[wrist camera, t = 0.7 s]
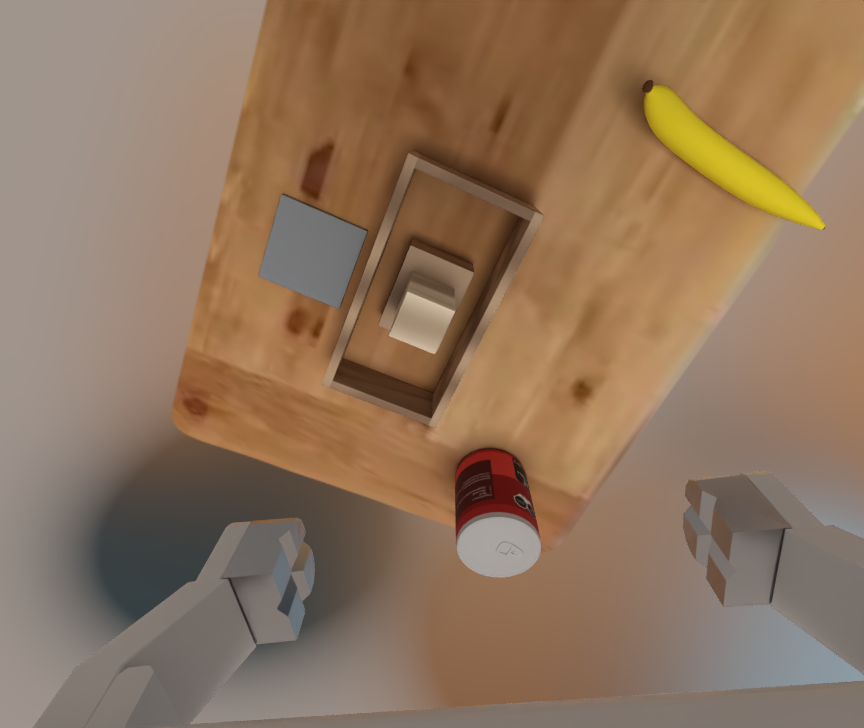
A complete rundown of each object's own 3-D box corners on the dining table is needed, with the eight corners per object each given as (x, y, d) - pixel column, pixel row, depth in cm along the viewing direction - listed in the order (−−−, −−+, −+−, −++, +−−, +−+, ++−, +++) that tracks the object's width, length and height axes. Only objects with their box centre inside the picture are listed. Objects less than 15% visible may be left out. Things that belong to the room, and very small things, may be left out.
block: (412, 271, 44) (407, 291, 38) (454, 288, 44) (455, 311, 39) (396, 310, 46) (388, 335, 40) (436, 327, 46) (434, 354, 41)
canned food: (519, 504, 58) (533, 582, 49) (450, 497, 58) (451, 574, 48) (531, 450, 55) (549, 522, 45) (459, 442, 55) (461, 512, 45)
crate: (412, 150, 43) (408, 153, 38) (534, 206, 44) (544, 216, 40) (332, 361, 51) (321, 384, 47) (437, 402, 53) (436, 428, 48)
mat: (282, 193, 44) (281, 194, 44) (367, 230, 46) (367, 231, 45) (259, 275, 48) (258, 276, 47) (339, 307, 49) (338, 309, 48)
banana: (773, 232, 45) (821, 248, 39) (605, 107, 41) (631, 104, 35) (799, 203, 43) (853, 215, 38) (629, 72, 40) (660, 62, 34)
